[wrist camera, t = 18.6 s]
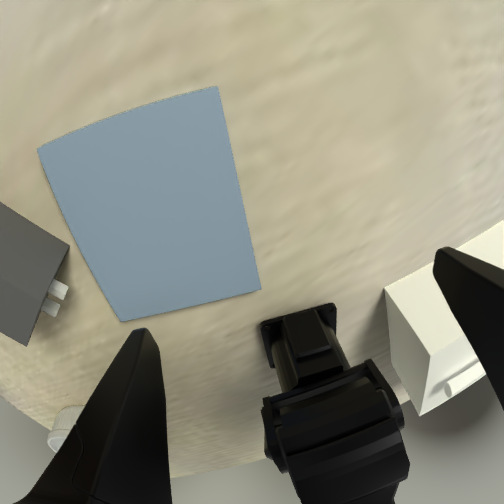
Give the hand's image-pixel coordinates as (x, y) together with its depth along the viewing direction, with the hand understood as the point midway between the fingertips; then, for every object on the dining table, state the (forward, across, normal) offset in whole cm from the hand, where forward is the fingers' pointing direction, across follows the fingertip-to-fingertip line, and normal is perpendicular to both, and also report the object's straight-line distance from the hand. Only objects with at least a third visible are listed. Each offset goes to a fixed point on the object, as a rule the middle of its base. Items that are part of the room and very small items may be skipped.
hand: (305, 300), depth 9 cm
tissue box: (+12, -24, +18) cm, 33 cm away
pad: (+12, +6, +2) cm, 14 cm away
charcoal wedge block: (+12, +18, 0) cm, 22 cm away
